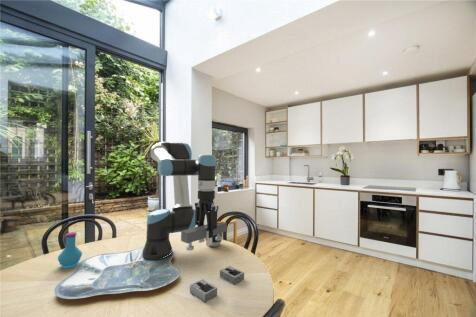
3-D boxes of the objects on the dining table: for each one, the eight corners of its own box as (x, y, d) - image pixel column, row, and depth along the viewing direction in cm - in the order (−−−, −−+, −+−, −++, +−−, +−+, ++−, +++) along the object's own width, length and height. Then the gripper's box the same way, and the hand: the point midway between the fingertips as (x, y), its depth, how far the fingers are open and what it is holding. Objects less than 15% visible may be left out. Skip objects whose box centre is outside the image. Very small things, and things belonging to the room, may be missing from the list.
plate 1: (189, 292, 85) (190, 284, 85) (201, 286, 89) (202, 279, 89) (204, 303, 79) (205, 294, 79) (217, 295, 83) (217, 287, 83)
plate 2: (219, 277, 97) (219, 270, 97) (229, 272, 101) (229, 265, 101) (234, 285, 91) (234, 277, 91) (244, 279, 95) (244, 272, 95)
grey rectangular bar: (180, 249, 89) (181, 229, 89) (220, 236, 106) (220, 220, 106) (187, 252, 86) (187, 232, 86) (226, 239, 103) (226, 222, 103)
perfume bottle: (83, 265, 105) (84, 233, 105) (59, 271, 98) (60, 238, 98) (79, 258, 111) (80, 229, 111) (55, 264, 104) (57, 233, 105)
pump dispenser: (215, 240, 141) (215, 217, 141) (225, 245, 133) (226, 220, 133) (201, 244, 134) (202, 219, 134) (211, 250, 126) (212, 223, 126)
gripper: (187, 188, 100) (186, 240, 99) (213, 192, 88) (212, 251, 87) (200, 187, 105) (199, 236, 104) (226, 191, 93) (225, 246, 93)
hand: (205, 243), depth 96 cm, fingers closed on grey rectangular bar, 4 cm apart
